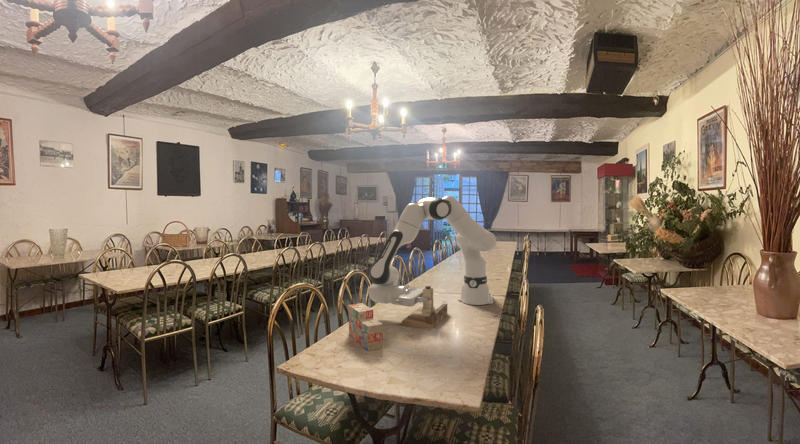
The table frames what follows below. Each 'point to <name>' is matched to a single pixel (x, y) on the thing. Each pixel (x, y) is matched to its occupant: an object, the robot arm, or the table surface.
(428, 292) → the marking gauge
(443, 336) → the table surface
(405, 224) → the robot arm
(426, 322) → the fenced board
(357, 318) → the stack of blocks
